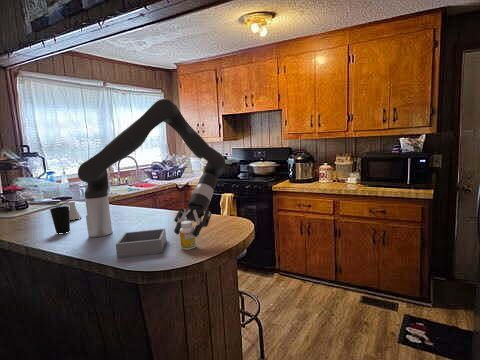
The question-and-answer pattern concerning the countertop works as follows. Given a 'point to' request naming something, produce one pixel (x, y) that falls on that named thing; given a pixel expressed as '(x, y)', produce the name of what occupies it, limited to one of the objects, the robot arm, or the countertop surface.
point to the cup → (61, 219)
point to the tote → (141, 243)
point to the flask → (73, 212)
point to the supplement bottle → (187, 235)
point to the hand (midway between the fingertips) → (185, 234)
